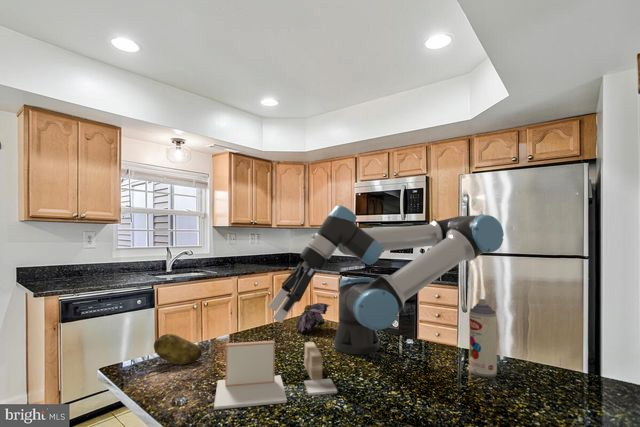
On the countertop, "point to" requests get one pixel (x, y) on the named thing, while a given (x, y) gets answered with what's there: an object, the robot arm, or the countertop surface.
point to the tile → (250, 363)
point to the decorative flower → (312, 317)
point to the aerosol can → (483, 340)
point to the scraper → (316, 372)
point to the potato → (177, 349)
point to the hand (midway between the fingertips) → (274, 314)
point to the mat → (249, 394)
